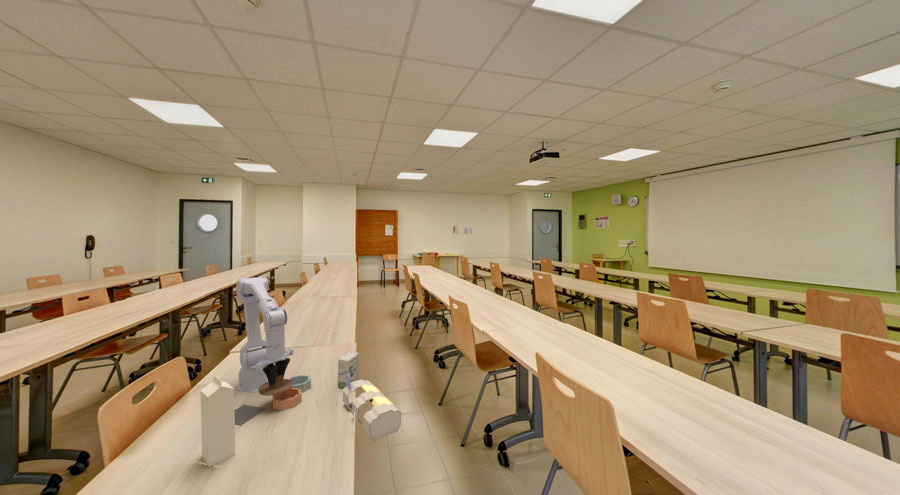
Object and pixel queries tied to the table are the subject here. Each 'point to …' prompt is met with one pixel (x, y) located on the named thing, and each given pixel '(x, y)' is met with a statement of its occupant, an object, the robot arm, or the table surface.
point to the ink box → (348, 368)
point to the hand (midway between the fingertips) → (276, 381)
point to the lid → (275, 386)
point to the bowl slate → (301, 382)
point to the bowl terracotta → (287, 399)
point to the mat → (246, 413)
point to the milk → (217, 421)
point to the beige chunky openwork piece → (373, 409)
